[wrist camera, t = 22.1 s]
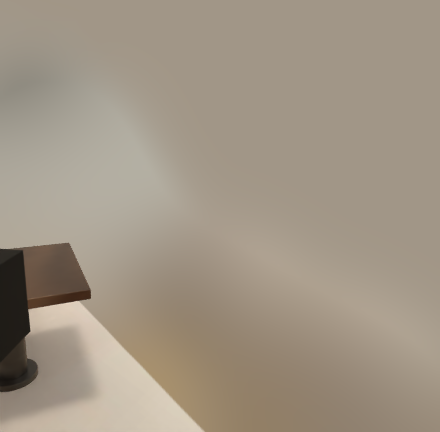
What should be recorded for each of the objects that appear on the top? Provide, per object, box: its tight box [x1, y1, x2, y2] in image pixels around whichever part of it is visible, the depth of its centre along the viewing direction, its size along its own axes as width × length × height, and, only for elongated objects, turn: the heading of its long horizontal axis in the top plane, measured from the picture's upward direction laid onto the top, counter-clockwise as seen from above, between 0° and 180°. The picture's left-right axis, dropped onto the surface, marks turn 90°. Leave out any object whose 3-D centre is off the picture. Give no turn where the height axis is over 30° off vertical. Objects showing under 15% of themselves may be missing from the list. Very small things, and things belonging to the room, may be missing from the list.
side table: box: [0, 243, 91, 392], centre depth 52 cm, size 18×18×15 cm
